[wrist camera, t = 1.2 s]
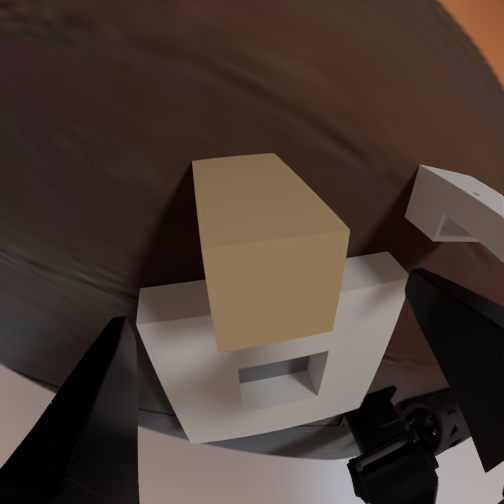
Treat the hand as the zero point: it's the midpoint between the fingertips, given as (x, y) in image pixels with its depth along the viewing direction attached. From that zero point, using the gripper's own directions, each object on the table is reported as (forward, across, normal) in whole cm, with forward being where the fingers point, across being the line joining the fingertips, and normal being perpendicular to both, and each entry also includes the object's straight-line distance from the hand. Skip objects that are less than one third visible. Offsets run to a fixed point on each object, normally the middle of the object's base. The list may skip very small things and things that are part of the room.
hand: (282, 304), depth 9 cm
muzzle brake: (+9, -34, +36) cm, 50 cm away
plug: (+8, 0, 0) cm, 8 cm away
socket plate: (+8, -2, +13) cm, 15 cm away
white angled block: (+8, -14, +1) cm, 16 cm away
